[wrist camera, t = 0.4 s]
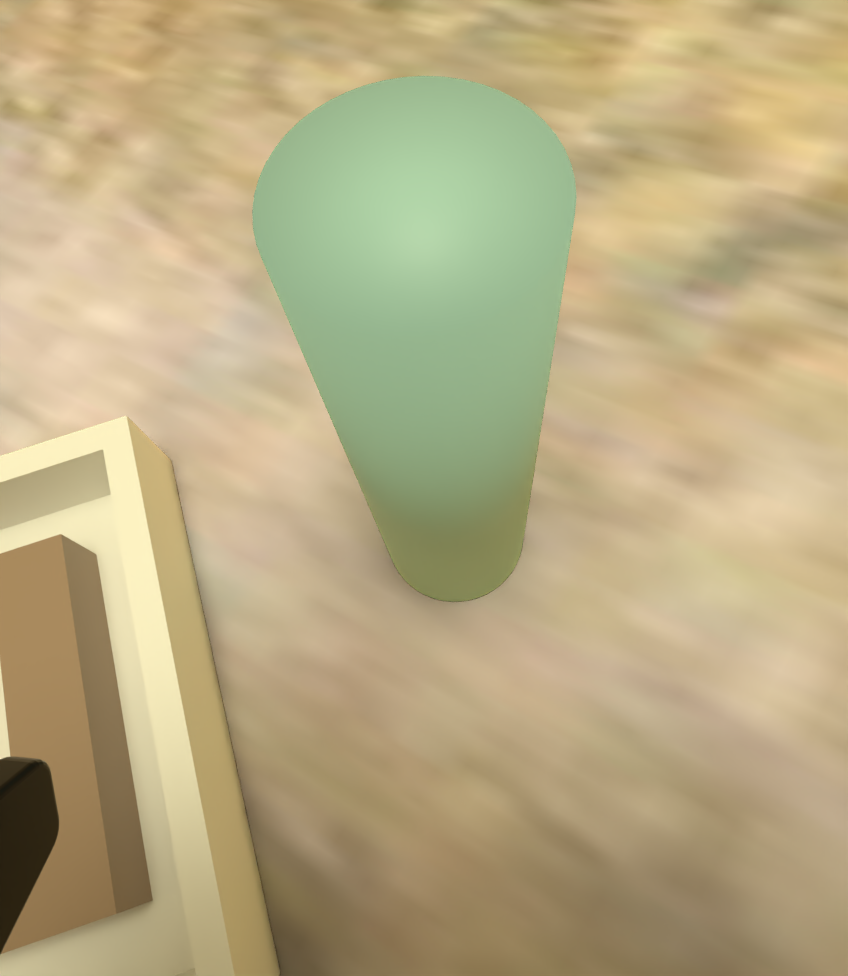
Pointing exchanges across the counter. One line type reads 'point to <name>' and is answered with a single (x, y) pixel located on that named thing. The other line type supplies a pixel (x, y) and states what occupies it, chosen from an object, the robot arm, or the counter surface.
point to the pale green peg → (427, 306)
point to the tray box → (120, 721)
